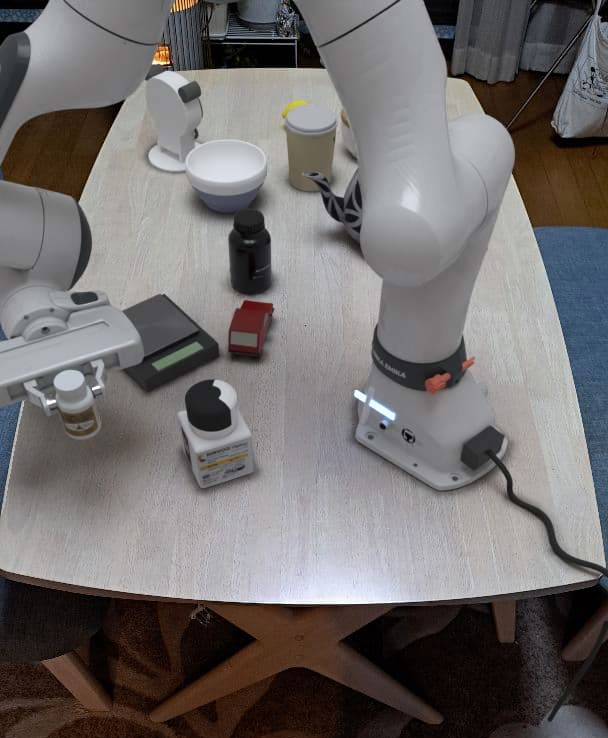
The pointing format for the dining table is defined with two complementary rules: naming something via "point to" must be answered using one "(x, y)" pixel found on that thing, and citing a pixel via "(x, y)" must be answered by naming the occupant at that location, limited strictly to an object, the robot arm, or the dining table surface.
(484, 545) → the dining table surface
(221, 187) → the bowl
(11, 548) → the dining table surface
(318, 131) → the coffee cup
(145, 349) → the scale
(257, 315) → the toy truck
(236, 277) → the supplement bottle
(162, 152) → the white device on stand
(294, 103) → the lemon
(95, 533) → the dining table surface
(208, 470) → the container
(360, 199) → the teapot
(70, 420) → the pill bottle
